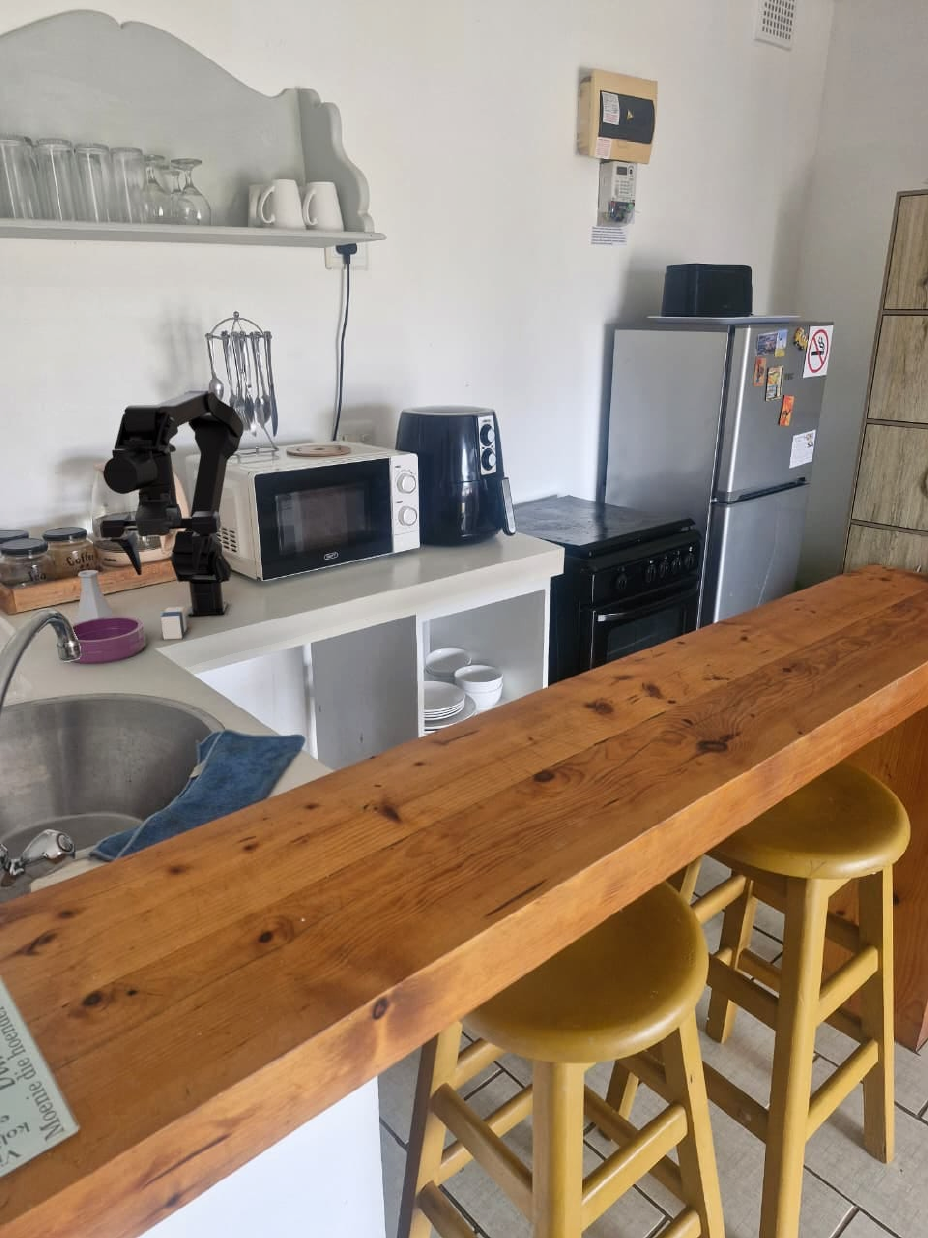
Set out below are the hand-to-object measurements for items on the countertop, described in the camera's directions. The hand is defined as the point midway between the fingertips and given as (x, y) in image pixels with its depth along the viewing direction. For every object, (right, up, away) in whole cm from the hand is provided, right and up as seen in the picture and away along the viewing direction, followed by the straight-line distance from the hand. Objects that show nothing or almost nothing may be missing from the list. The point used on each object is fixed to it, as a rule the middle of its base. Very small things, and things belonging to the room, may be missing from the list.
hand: (167, 573), depth 149 cm
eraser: (0, -10, +3) cm, 11 cm away
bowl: (-9, -13, -4) cm, 16 cm away
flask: (-16, -9, +8) cm, 20 cm away
